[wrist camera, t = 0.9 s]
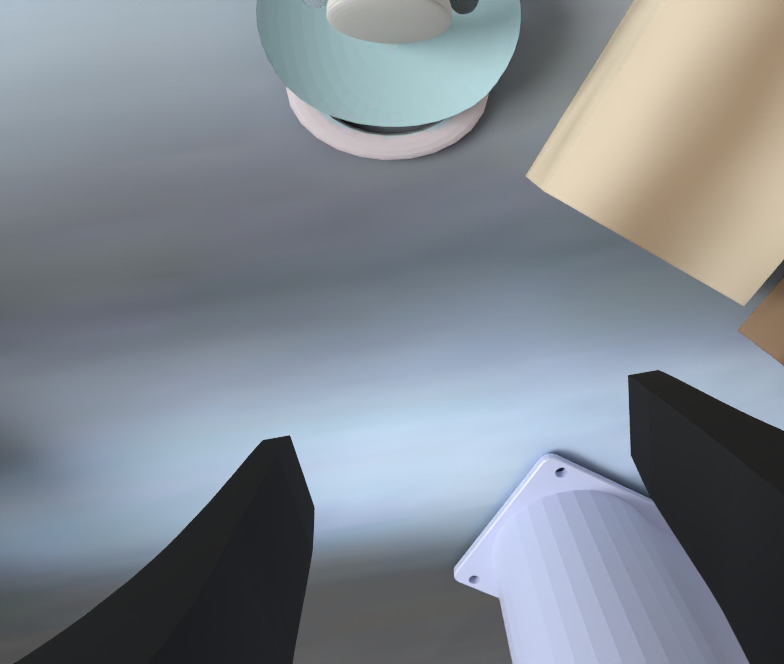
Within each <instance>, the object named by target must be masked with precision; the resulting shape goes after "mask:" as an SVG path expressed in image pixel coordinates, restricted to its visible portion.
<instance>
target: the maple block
mask: <svg viewBox="0 0 784 664" xmlns="http://www.w3.org/2000/svg"><path fill="white" fill-rule="evenodd" d="M526 177H527V178H529V179H530V180H531V181H532V182H533V183H535V184H536V185H537V186H538V187H540V188H541V189H542V190H543V191H545V192H547V193H548V194H550V195H552V196H553V197H555V198H557V199H559V200H560V201H562V202H564V203H566V204H567V205H569V206H571V207H573V208H574V209H576V210H578V211H580V212H581V213H583V214H585V215H586V216H588V217H590V218H592V219H593V220H595V221H597V222H599V223H600V224H602V225H604V226H606V227H607V228H609V229H611V230H612V231H614V232H616V233H618V234H619V235H621V236H623V237H625V238H626V239H628V240H630V241H632V242H633V243H635V244H637V245H639V246H640V247H642V248H644V249H645V250H647V251H649V252H651V253H652V254H654V255H656V256H658V257H659V258H661V259H663V260H665V261H666V262H668V263H670V264H671V265H673V266H675V267H677V268H678V269H680V270H682V271H684V272H685V273H687V274H689V275H691V276H692V277H694V278H696V279H698V280H699V281H701V282H703V283H704V284H706V285H708V286H710V287H711V288H713V289H715V290H717V291H718V292H720V293H722V294H724V295H725V296H727V297H729V298H730V299H732V300H734V301H736V302H737V303H739V304H741V305H743V306H745V304H746V303H747V302H748V301H749V300H750V299H751V297H752V296H753V295H754V294H755V293H756V292H757V290H758V289H759V288H760V287H761V286H762V285H763V283H764V282H765V281H766V280H767V279H768V277H769V276H770V275H771V274H772V273H773V272H774V270H775V269H776V268H777V267H778V266H779V265H780V263H781V262H782V261H783V260H784V0H634V2H633V3H632V5H631V6H630V8H629V10H628V11H627V13H626V15H625V16H624V18H623V19H622V21H621V23H620V24H619V26H618V27H617V29H616V31H615V32H614V34H613V36H612V37H611V39H610V40H609V42H608V44H607V45H606V47H605V48H604V50H603V52H602V53H601V55H600V57H599V58H598V60H597V61H596V63H595V65H594V66H593V68H592V69H591V71H590V73H589V74H588V76H587V78H586V79H585V81H584V82H583V84H582V86H581V87H580V89H579V90H578V92H577V94H576V95H575V97H574V99H573V100H572V102H571V103H570V105H569V107H568V108H567V110H566V111H565V113H564V115H563V116H562V118H561V120H560V121H559V123H558V124H557V126H556V128H555V129H554V131H553V132H552V134H551V136H550V137H549V139H548V141H547V142H546V144H545V145H544V147H543V149H542V150H541V152H540V153H539V155H538V157H537V158H536V160H535V161H534V163H533V165H532V166H531V168H530V170H529V171H528V173H527V174H526Z"/></svg>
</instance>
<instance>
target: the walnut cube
mask: <svg viewBox="0 0 784 664" xmlns="http://www.w3.org/2000/svg"><path fill="white" fill-rule="evenodd" d="M738 331H739V332H740V333H742V334H743V335H744V336H746V337H747V338H748V339H750V340H751V341H752V342H754V343H755V344H756V345H757V346H759V347H760V348H761V349H763V350H764V351H765V352H767V353H768V354H769V355H771V356H772V357H773V358H775V359H776V360H777V361H778V362H780V363H781V364H782V365H784V277H783V278H782V279H781V280H780V282H779V283H778V284H777V285H776V286H775V287H774V289H773V290H772V291H771V292H770V293H769V294H768V295H767V297H766V298H765V299H764V300H763V301H762V302H761V304H760V305H759V306H758V307H757V308H756V309H755V311H754V312H753V313H752V314H751V315H750V316H749V318H748V319H747V320H746V321H745V322H744V323H743V325H742V326H741V327H740V328H739V329H738Z"/></svg>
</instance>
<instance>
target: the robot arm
mask: <svg viewBox="0 0 784 664" xmlns="http://www.w3.org/2000/svg"><path fill="white" fill-rule="evenodd" d="M628 386H629V414H630V443H631V456H632V459H633V461H634V463H635V465H636V467H637V470H638V472H639V474H640V476H641V478H642V480H643V483H644V485H645V487H646V489H647V491H648V493H649V495H650V497H651V499H650V498H648V497H646V496H643V495H641V494H639V493H637V492H635V491H633V490H631V489H629V488H626V487H624V486H622V485H620V484H618V483H616V482H614V481H612V480H609V479H607V478H605V477H603V476H601V475H599V474H597V473H595V472H592V471H590V470H588V469H586V468H584V467H582V466H580V465H578V464H575V463H573V462H571V461H569V460H567V459H565V458H563V457H561V456H558V455H556V454H552V453H551V454H546V455H543V456H542V457H541V458H540V459H539V460H538V461H537V463H536V464H535V465H534V467H533V468H532V469H531V470H530V472H529V473H528V474H527V475H526V477H525V478H524V479H523V481H522V482H521V483H520V484H519V486H518V487H517V488H516V489H515V491H514V492H513V493H512V495H511V496H510V497H509V498H508V500H507V501H506V502H505V503H504V505H503V506H502V507H501V509H500V510H499V511H498V512H497V514H496V515H495V516H494V518H493V519H492V520H491V521H490V523H489V524H488V525H487V526H486V528H485V529H484V530H483V532H482V533H481V534H480V535H479V537H478V538H477V539H476V540H475V542H474V543H473V544H472V546H471V547H470V548H469V549H468V551H467V552H466V553H465V554H464V556H463V557H462V558H461V560H460V561H459V562H458V563H457V565H456V566H455V568H454V577H455V579H456V580H457V581H459V582H460V583H463V584H465V585H468V586H470V587H473V588H475V589H478V590H480V591H483V592H485V593H488V594H490V595H493V596H495V597H498V598H499V599H500V604H501V609H502V614H503V619H504V624H505V629H506V634H507V638H508V643H509V648H510V653H511V658H512V663H513V664H784V431H783V430H781V429H779V428H776V427H774V426H772V425H769V424H767V423H765V422H763V421H761V420H758V419H756V418H754V417H752V416H750V415H748V414H746V413H744V412H741V411H739V410H737V409H735V408H733V407H731V406H729V405H727V404H725V403H723V402H721V401H719V400H717V399H715V398H713V397H711V396H709V395H707V394H706V393H704V392H702V391H700V390H698V389H696V388H694V387H692V386H690V385H688V384H686V383H684V382H682V381H680V380H678V379H676V378H674V377H672V376H670V375H668V374H666V373H664V372H662V371H659V370H656V371H650V372H645V373H639V374H633V375H628ZM559 468H564V470H562V471H560V472H556V470H557V469H559ZM313 534H314V505H313V502H312V499H311V496H310V493H309V490H308V487H307V484H306V481H305V478H304V475H303V472H302V469H301V467H300V464H299V461H298V458H297V455H296V452H295V449H294V446H293V443H292V440H291V437H290V436H284V437H278V438H273V439H267V440H263V441H262V442H261V443H260V444H259V445H258V446H257V447H256V448H255V449H254V450H253V452H252V453H251V454H250V455H249V456H248V457H247V459H246V460H245V461H244V462H243V463H242V465H241V466H240V467H239V468H238V469H237V471H236V472H235V473H234V474H233V475H232V477H231V478H230V479H229V480H228V481H227V482H226V483H225V485H224V486H223V487H222V488H221V489H220V490H219V492H218V493H217V494H216V495H215V496H214V497H213V499H212V500H211V501H210V502H209V503H208V504H207V505H206V506H205V507H204V508H203V510H202V511H201V512H200V513H199V514H198V515H197V516H196V517H195V518H194V519H193V520H192V521H191V522H190V523H189V524H188V525H187V526H186V528H185V529H184V530H183V531H182V532H181V533H180V534H179V535H178V536H177V537H176V538H175V539H174V540H173V541H172V542H171V543H170V544H169V545H168V546H167V547H166V548H165V549H164V550H163V551H162V552H161V553H159V554H158V555H157V556H156V557H155V558H154V559H153V560H152V561H151V562H150V563H148V564H147V565H146V566H145V567H144V568H143V569H142V570H141V571H139V572H138V573H137V574H136V575H135V576H134V577H133V578H131V579H130V580H129V581H128V582H127V583H125V584H124V585H123V586H122V587H120V588H119V589H118V590H116V591H115V592H114V593H113V594H111V595H110V596H109V597H108V598H106V599H105V600H104V601H102V602H101V603H100V604H99V605H97V606H96V607H95V608H94V609H92V610H91V611H90V612H89V613H87V614H86V615H85V616H83V617H82V618H81V619H79V620H78V621H76V622H75V623H74V624H72V625H71V626H69V627H68V628H67V629H65V630H64V631H62V632H61V633H59V634H58V635H57V636H55V637H54V638H52V639H51V640H49V641H48V642H46V643H45V644H43V645H42V646H40V647H39V648H37V649H36V650H34V651H33V652H31V653H30V654H28V655H27V656H25V657H24V658H22V659H20V660H19V661H17V662H16V663H14V664H293V657H294V650H295V645H296V639H297V634H298V629H299V623H300V618H301V612H302V607H303V602H304V596H305V591H306V585H307V580H308V574H309V569H310V563H311V557H312V551H313ZM471 576H476V577H471Z"/></svg>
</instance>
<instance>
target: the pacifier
mask: <svg viewBox="0 0 784 664" xmlns="http://www.w3.org/2000/svg"><path fill="white" fill-rule="evenodd" d="M256 15H257V27H258V31H259V35H260V39H261V43H262V46H263V48H264V50H265V53H266V55H267V58H268V60H269V61H270V63H271V64H272V66H273V68H274V70H275V72H276V74H277V75H278V76H279V78H280V79H281V80H282V82H283V83H284V84H285V86H286V88H287V93H288V97H289V102H290V106H291V108H292V109H293V111H294V112H295V114H296V116H297V117H298V119H299V121H300V122H301V124H302V125H304V126H305V127H306V128H307V129H308V130H309V131H310V132H311V133H312V134H313V135H314V136H315V137H316V138H318V139H320V140H321V141H323V142H325V143H327V144H329V145H330V146H332V147H334V148H336V149H337V150H340V151H344V152H347V153H350V154H353V155H356V156H359V157H364V158H372V159H380V160H398V159H412V158H416V157H420V156H424V155H428V154H432V153H436V152H438V151H440V150H442V149H444V148H446V147H448V146H450V145H452V144H454V143H456V142H457V141H458V140H460V139H461V138H462V137H463V136H465V135H466V134H467V133H468V132H469V131H471V130H472V129H473V127H474V126H475V124H476V123H477V122H478V120H479V119H480V117H481V116H482V114H483V113H484V109H485V106H486V102H487V99H488V95H489V91H490V90H491V89H492V88H493V87H494V85H495V84H496V83H497V82H498V80H499V78H500V77H501V75H502V74H503V72H504V71H505V69H506V68H507V66H508V64H509V62H510V60H511V57H512V55H513V53H514V51H515V47H516V44H517V41H518V38H519V31H520V24H521V9H520V1H519V0H479V1H478V4H477V6H476V8H475V9H474V10H473V11H472V12H470V13H468V14H459V13H457V12H455V11H454V10H453V9H452V7H451V4H450V0H328V2H327V3H326V4H325V5H324V6H323V7H321V8H311V7H309V6H307V5H306V4H305V3H304V1H303V0H257V6H256ZM337 118H339V119H343V120H346V121H350V122H354V123H358V124H365V125H372V126H384V127H401V126H416V125H421V124H427V123H432V122H436V121H438V122H436V123H433V124H431V125H429V126H427V127H425V128H423V129H419V130H414V131H410V132H406V133H390V134H385V133H377V132H369V131H365V130H362V129H359V128H356V127H353V126H350V125H348V124H346V123H345V122H343V121H341V120H339V119H337Z"/></svg>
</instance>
